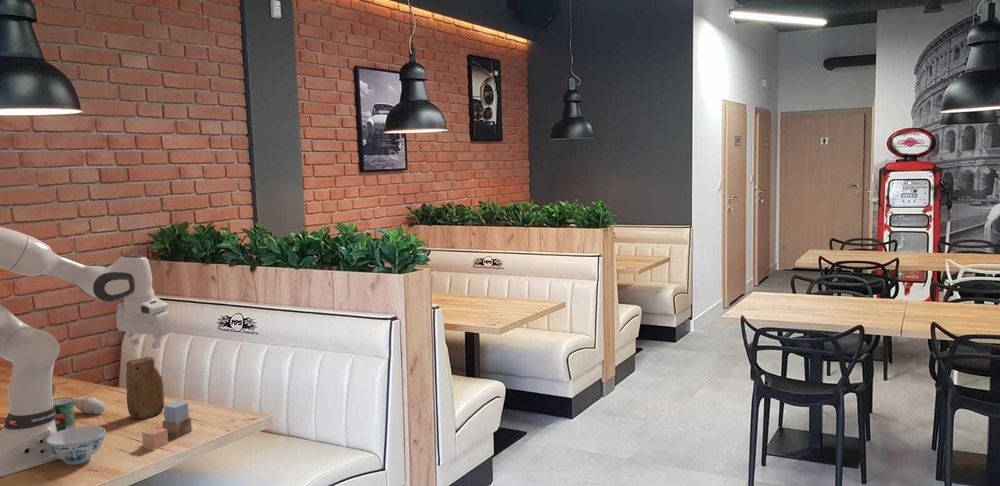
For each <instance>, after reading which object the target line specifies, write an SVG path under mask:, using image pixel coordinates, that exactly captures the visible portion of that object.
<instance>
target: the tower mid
mask: <svg viewBox="0 0 1000 486" xmlns="http://www.w3.org/2000/svg"><path fill="white" fill-rule="evenodd" d="M189 413H190V412H189V402H183V401H178V400H177V401H176V400H175V401H173V402H170V403H168V404H164V407H163V414H164V420H165V421H167V422H172V423H178V422H181V421H183V420H186V419H188V418H190V415H189Z"/></svg>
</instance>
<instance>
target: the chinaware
mask: <svg viewBox="0 0 1000 486" xmlns="http://www.w3.org/2000/svg"><path fill="white" fill-rule="evenodd" d="M105 436H106V428H105V427H102V426H97V425H85V426H84V425H81V426H75V427H74V428H69V429H65V430H62V431H59V432H56V433H54V434H52V435H50V436H49V437H48V438H47V439H46V442H47V445H48V447H49V449H50V451H51V452H52V453H53V454H54V455H55V456H56V457H57V458H58V460H61V461H64V463H65V464H66V465H69V466H70V465H74V466H75V465H79V464H83V463H87V462H89V461H90V460H91V459H92V456H93V455H94V454H96V453H97V451H98V450H99V449H100V448H101V446H102V445H103V441H104V440H105Z"/></svg>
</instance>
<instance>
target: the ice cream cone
mask: <svg viewBox="0 0 1000 486" xmlns="http://www.w3.org/2000/svg"><path fill="white" fill-rule="evenodd" d="M73 404H74V407H75V408H77V410H79V411H80V412H81V413H82V414H88V415H91V414H94V415H99V414H103V412H104V411H105V410H106V404H105V403H104V402H103V401H101V400H99V399H98V398H97V397H93V396H92V395H88V396H80V397H75V398H73Z"/></svg>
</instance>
